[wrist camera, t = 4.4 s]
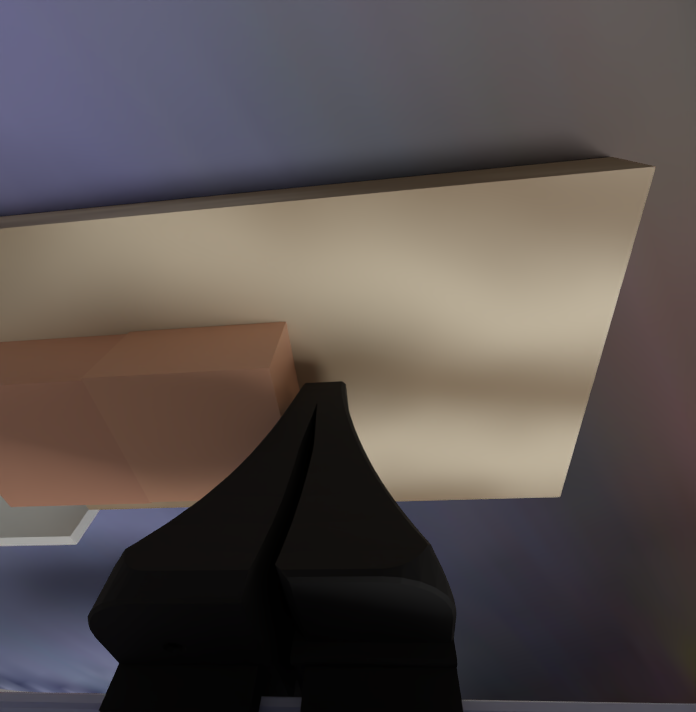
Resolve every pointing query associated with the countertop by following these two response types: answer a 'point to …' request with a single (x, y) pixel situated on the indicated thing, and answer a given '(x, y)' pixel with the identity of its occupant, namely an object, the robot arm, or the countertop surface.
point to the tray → (43, 524)
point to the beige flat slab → (373, 303)
